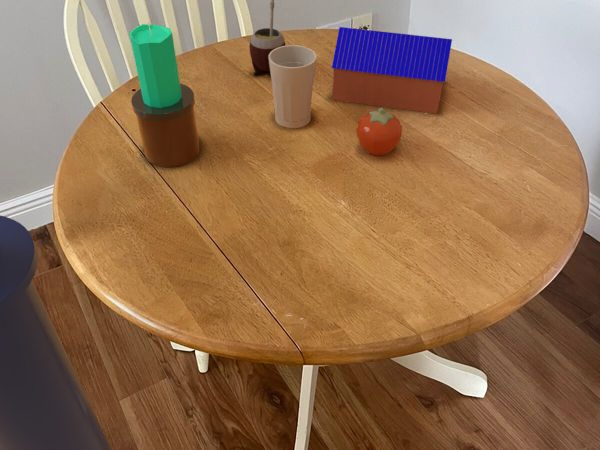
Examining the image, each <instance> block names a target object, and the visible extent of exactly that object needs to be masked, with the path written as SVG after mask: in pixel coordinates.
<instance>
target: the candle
mask: <svg viewBox="0 0 600 450" xmlns="http://www.w3.org/2000/svg"><path fill="white" fill-rule="evenodd" d="M128 36H129V39H130V44H131V48H132V53H133V54H132V55H133V58H134V63H135V68H136V73H137V77H138V83H139V89H141V93H142V97H143V101H144V103H145V104H147V105H148V106H150V107H158V108H162V107H168V106H172V105H174V104H175V103H177V102H179V100H180V99H181V97H182V94H181V87H180V83H181V82H180V76H179V70H178V69H179V68H178V61H177V55H176V49H175V44H174V37H173V32H172V30H171V28H169V27H167V26H163V25H157V24H154V23H153V24H151V23H150V22H148V23H145V24H140V25H138V26H136V27H135V28H132V30H131V31H130V32H129V35H128Z"/></svg>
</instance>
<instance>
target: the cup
mask: <svg viewBox="0 0 600 450" xmlns="http://www.w3.org/2000/svg"><path fill="white" fill-rule="evenodd" d="M317 55H318V54H317V53H316V52H315V51H314V50H313V49H311V48H309V47H307V46H303V45H296V44H290V45H288V44H287V45H286V46H282V47H278V48H276V49H274V50H272V51H271V52H270V54H269V56H268V57H269V65H270V73H271V76H270V80H271V88H272V96H273V97H272V99H273V106H274V120H275V122H276V123H277V125H278V126H281V127H283V128H287V129H299V128H303V127H305V126H307V125H308V124H309V123H310V121H311V117H312V116H311V115H312V112H311V111H312V110H311V108H312V99H313V91H314V79H315V74H316V66H317V58H318V56H317Z"/></svg>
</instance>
